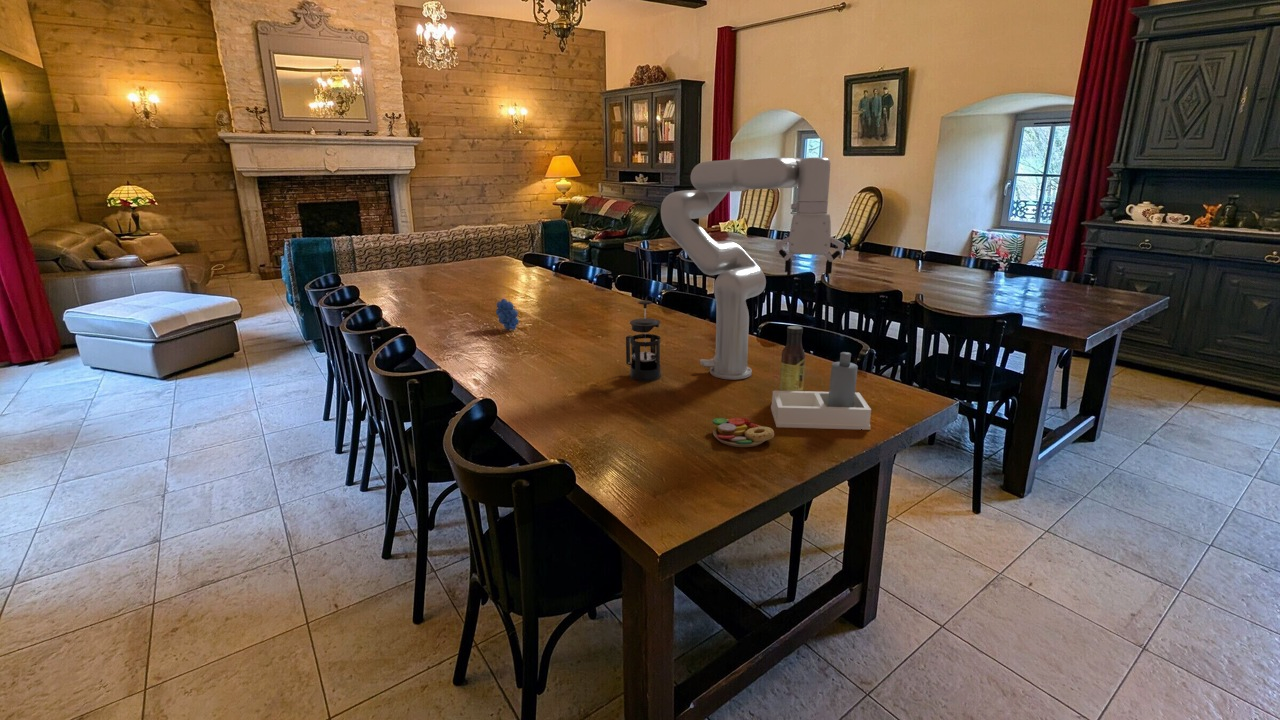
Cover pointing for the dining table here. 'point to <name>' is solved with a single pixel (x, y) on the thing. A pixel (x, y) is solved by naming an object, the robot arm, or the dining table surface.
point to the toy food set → (740, 432)
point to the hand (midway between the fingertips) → (807, 275)
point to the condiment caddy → (825, 403)
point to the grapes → (507, 314)
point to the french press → (645, 363)
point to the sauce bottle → (792, 361)
